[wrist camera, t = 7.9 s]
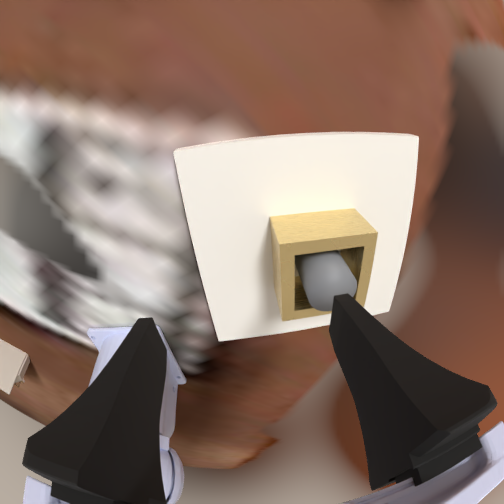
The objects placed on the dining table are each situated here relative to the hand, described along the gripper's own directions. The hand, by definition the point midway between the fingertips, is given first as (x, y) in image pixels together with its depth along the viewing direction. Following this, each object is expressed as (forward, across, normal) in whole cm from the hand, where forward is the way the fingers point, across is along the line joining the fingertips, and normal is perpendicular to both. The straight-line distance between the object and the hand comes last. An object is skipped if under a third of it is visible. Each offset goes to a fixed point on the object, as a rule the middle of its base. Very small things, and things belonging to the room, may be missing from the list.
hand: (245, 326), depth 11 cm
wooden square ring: (+8, -5, +2) cm, 10 cm away
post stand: (+9, -5, +2) cm, 11 cm away
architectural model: (+10, +33, +14) cm, 37 cm away
